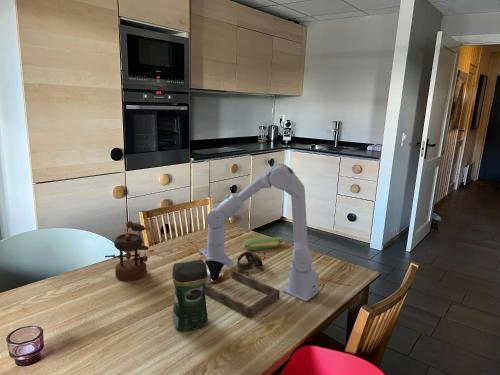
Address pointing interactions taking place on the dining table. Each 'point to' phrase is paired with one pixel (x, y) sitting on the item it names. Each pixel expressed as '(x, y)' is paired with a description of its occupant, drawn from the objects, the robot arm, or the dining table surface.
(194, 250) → the dining table surface
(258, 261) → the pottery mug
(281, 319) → the dining table surface
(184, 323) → the coffee jar
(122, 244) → the music box
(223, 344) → the dining table surface
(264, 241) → the edible corn
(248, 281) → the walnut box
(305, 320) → the dining table surface
